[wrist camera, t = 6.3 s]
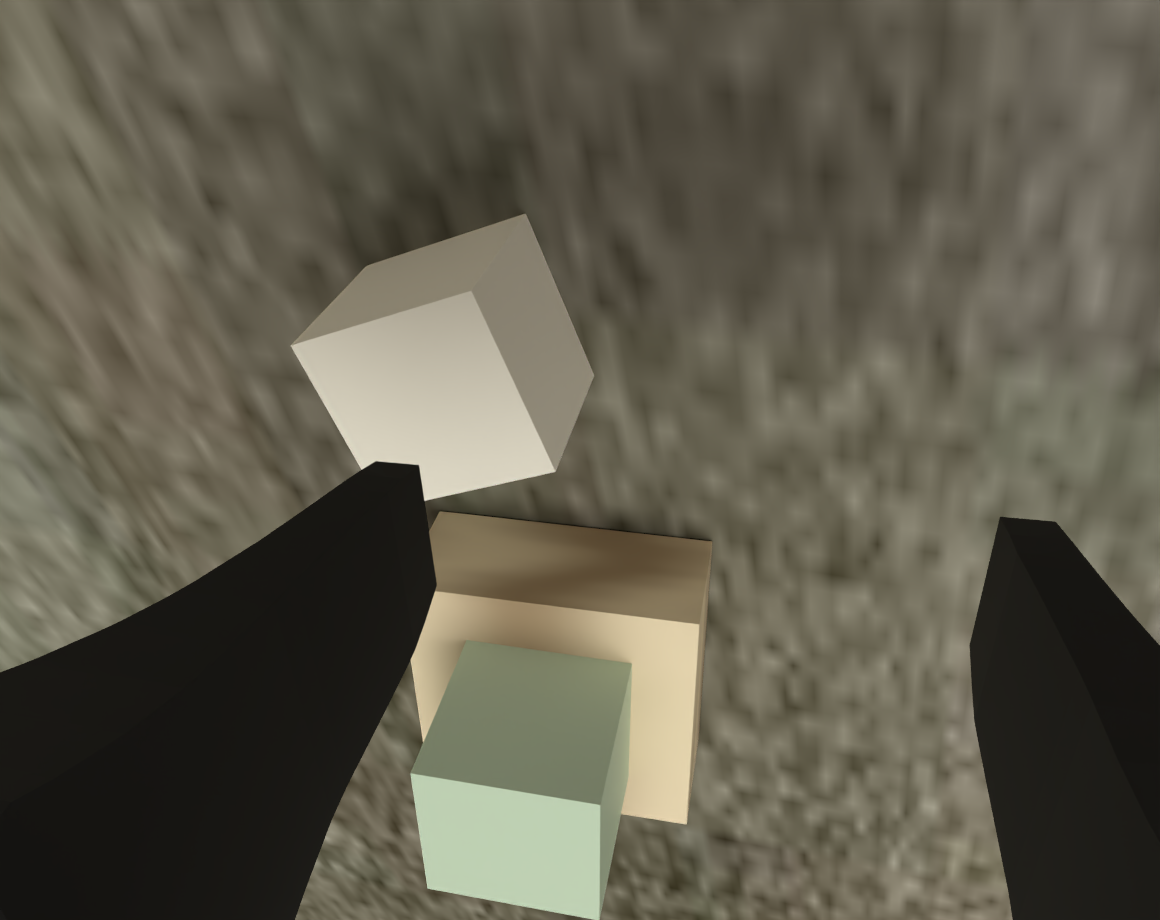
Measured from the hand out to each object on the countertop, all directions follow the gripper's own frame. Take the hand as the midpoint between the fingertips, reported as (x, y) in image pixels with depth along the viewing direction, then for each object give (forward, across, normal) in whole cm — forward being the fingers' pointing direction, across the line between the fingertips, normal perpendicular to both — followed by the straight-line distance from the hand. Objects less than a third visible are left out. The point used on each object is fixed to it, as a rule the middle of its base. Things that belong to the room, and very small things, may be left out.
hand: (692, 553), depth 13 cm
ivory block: (+10, +6, +2) cm, 12 cm away
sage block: (+7, +4, +11) cm, 13 cm away
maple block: (+10, +4, +11) cm, 15 cm away
